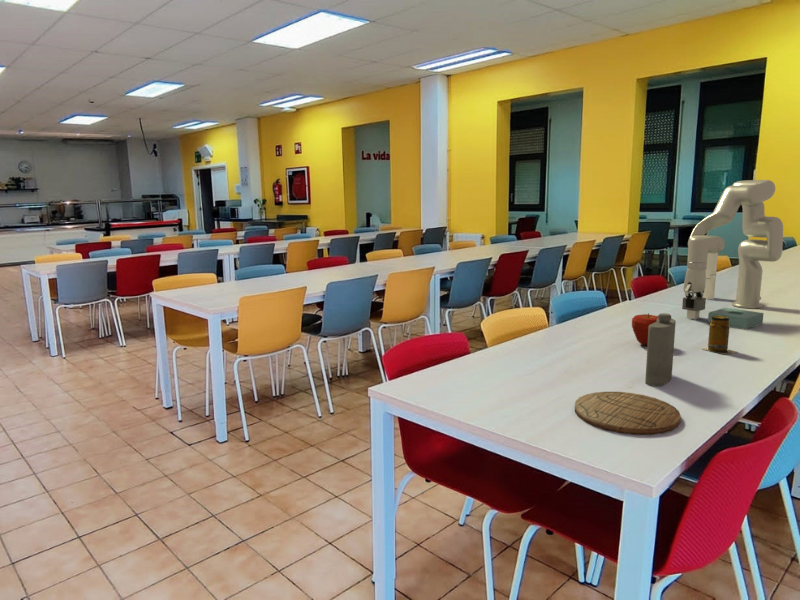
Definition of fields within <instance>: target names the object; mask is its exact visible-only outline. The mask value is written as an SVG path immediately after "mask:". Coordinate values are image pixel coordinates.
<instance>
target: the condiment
mask: <svg viewBox="0 0 800 600" xmlns="http://www.w3.org/2000/svg"><path fill="white" fill-rule="evenodd" d="M729 338H730V327H729V318H728V317H725V316H712V321H711V323H709V330H708V340H707V341H708V342H707V347H706V348H705V347H703V348H702V350H704V351H708V352H713V353H717V354H722V355H730V354H735V353H738V351H736V350H733V349H728V347H729ZM707 348H708V349H707Z"/></svg>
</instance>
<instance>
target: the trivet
mask: <svg viewBox="0 0 800 600" xmlns="http://www.w3.org/2000/svg"><path fill="white" fill-rule="evenodd" d="M574 413H575V414H576V416H577V417H578V419H580V420H582V421H583V422H584V423H586V424H589V425H590V426H593V427H594V428H599V429H600V430H601V429H602V430H604V431H609V432H613V433H618V434H624V435H625V434H626V435H633V436H651V435H653V436H654V435H661V434H662V435H663V434H665V433H668V432H672V431H674V430H676V429H678V428H679V426H680V423H681V420H682V419H681V417H682V415H681V413H680V410H679V409H678V408H676V407H675V406H674V405H673V404H672V405H671V404H670V403H669V402H666V401H664V400H661V399H658V398H657V397H652V396H649V395H644V394H639V393H635V392H626V391H597V392H591V393H587V394H583V395H582V396H579V397H578V398H577V399H576V400H575V403H574Z"/></svg>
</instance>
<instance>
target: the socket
mask: <svg viewBox="0 0 800 600" xmlns="http://www.w3.org/2000/svg"><path fill="white" fill-rule="evenodd" d="M707 316H708V317H707V324H711V321H712V316H725V317H728V318H729V326H731V327H730V328H735V327H737V328H736V329H741V328H744V329H743V330H748V329H747V328H749V329H751V328H754V327H757V326H759V324H760V325H762V323H764V312H759V311H752V310H745V309H738V308H737V309H736V308H730V307H723V308H720V309H716V310H712V311H709V312H708V315H707ZM756 325H757V326H756ZM753 326H754V327H753ZM750 327H751V328H750Z"/></svg>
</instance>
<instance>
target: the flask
mask: <svg viewBox="0 0 800 600" xmlns="http://www.w3.org/2000/svg"><path fill="white" fill-rule="evenodd" d="M657 316H658V319H657V321H656V322H655V323H653V324H650V325H649V330H648V346H647V345H646V346H647V348H646V349H647V350H646V364H645V366H646V367H645V380H644V381H645V384H646V385H648V386H652V387H662V386H665V385H666V384H668V383H669V382H671V380H672V378H673V363H674V352H675V350H674V349H675V338H676V337H675V335H676V322H677V321H676V320H675V319H674V318H672V315H671V314H669V313H666V312H664V313H659V314H658V315H657Z"/></svg>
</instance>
